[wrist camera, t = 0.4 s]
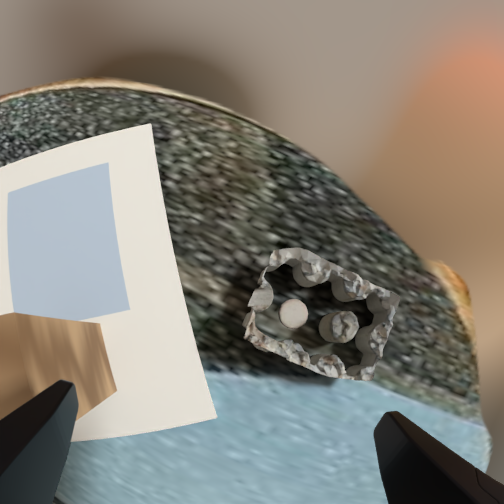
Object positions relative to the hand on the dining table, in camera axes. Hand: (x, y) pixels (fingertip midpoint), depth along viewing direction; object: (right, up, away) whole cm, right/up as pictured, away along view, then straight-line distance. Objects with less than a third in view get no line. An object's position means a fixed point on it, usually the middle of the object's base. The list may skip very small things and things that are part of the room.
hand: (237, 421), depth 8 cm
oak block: (-12, -3, +12) cm, 17 cm away
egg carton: (+5, -1, +17) cm, 18 cm away
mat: (-14, +2, +14) cm, 20 cm away
